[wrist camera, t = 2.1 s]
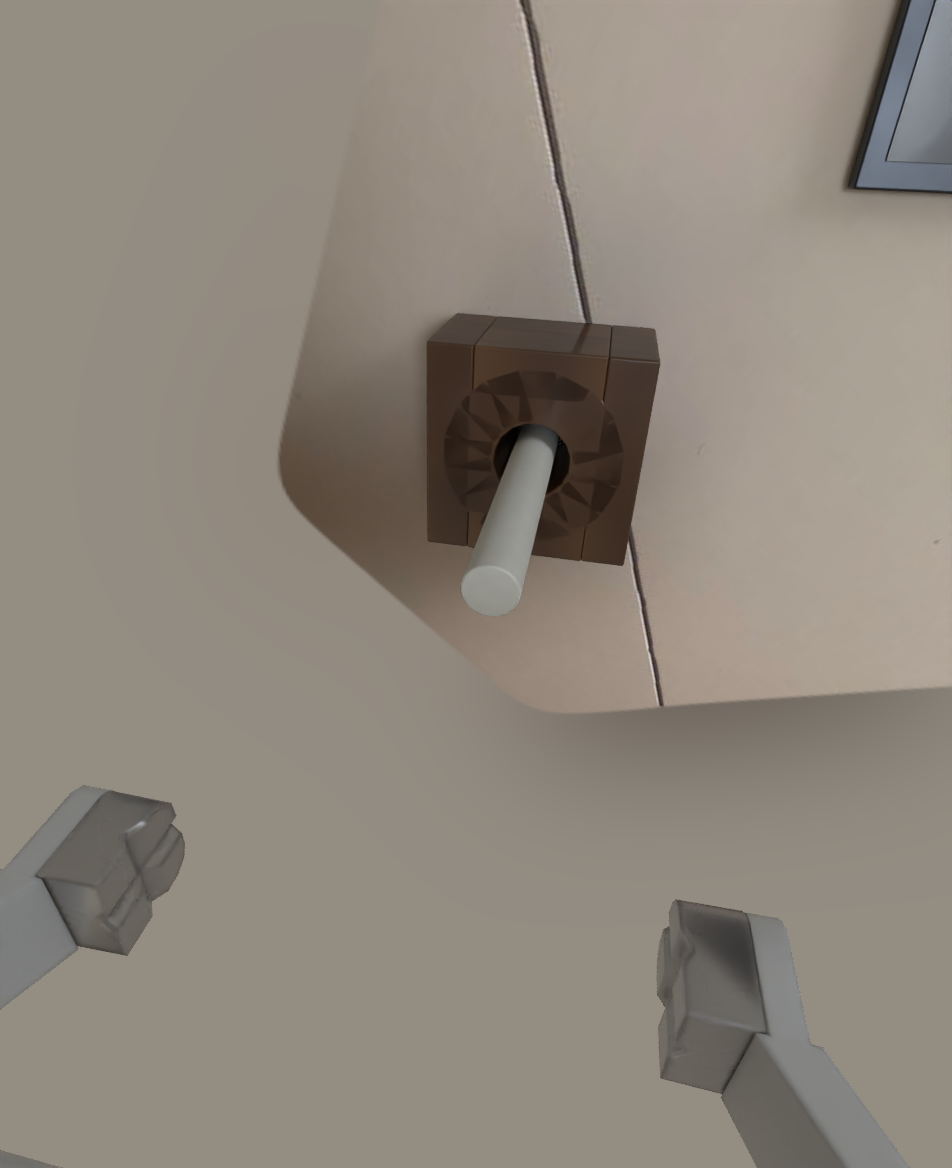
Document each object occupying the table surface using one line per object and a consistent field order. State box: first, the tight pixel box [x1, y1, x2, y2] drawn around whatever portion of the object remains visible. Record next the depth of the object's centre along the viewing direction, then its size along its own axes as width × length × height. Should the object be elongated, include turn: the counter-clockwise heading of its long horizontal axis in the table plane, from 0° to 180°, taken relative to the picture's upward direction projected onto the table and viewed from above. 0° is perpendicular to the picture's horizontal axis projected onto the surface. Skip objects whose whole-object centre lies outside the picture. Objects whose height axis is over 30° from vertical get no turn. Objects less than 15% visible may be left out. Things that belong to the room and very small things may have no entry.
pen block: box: [427, 314, 660, 566], centre depth 27 cm, size 8×8×5 cm
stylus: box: [461, 424, 559, 617], centre depth 23 cm, size 2×2×14 cm
